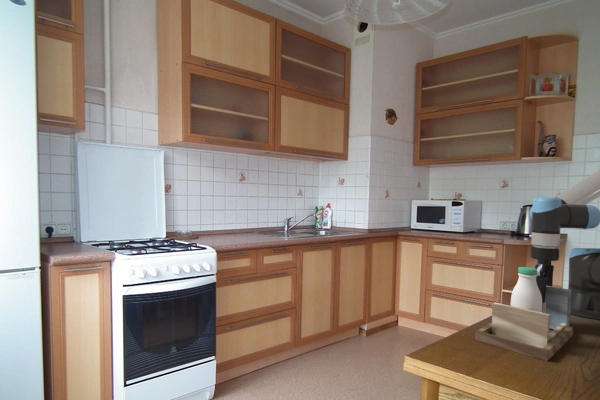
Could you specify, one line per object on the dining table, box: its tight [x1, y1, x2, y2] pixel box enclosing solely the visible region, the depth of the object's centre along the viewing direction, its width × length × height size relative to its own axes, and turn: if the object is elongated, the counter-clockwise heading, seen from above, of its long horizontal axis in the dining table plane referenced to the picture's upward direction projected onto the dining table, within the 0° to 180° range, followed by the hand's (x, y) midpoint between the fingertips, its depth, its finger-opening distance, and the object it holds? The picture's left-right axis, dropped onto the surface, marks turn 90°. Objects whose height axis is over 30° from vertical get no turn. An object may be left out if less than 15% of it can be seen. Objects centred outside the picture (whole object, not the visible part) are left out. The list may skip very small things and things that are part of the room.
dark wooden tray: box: [474, 321, 574, 362], centre depth 108 cm, size 27×17×2 cm, turn 133°
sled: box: [491, 286, 571, 348], centre depth 112 cm, size 24×14×12 cm, turn 133°
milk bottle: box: [510, 266, 542, 313], centre depth 107 cm, size 8×8×20 cm
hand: (541, 320), depth 119 cm, fingers closed on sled, 4 cm apart
